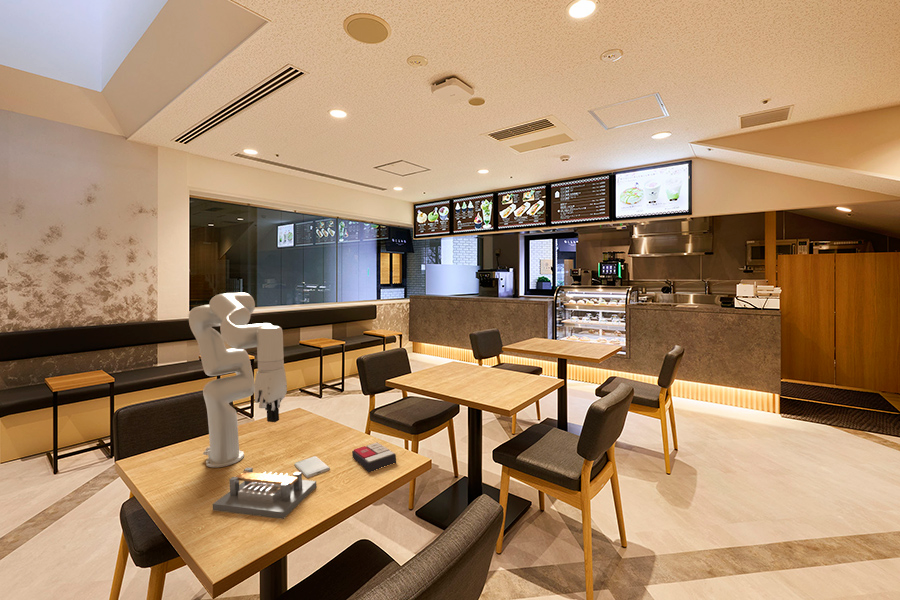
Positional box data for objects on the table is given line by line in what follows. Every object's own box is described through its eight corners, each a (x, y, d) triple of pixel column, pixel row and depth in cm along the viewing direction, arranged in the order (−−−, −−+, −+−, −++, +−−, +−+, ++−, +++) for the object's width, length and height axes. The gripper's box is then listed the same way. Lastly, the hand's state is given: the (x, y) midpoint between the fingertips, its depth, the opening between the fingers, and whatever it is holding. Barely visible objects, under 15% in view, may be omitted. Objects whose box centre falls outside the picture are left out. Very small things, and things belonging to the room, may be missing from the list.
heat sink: (227, 497, 117) (226, 481, 117) (250, 480, 127) (249, 465, 127) (284, 504, 113) (283, 487, 113) (304, 486, 123) (303, 470, 122)
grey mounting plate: (212, 510, 115) (212, 503, 114) (253, 480, 131) (253, 475, 131) (283, 519, 109) (283, 512, 109) (316, 487, 126) (316, 481, 126)
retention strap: (235, 481, 120) (234, 476, 120) (243, 475, 124) (243, 470, 124) (290, 486, 116) (290, 481, 116) (298, 480, 119) (297, 475, 119)
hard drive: (294, 462, 141) (307, 475, 132) (316, 455, 147) (329, 466, 137) (294, 467, 141) (307, 479, 132) (316, 459, 147) (330, 471, 137)
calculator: (377, 440, 153) (396, 452, 141) (378, 451, 153) (396, 463, 141) (351, 448, 146) (368, 461, 134) (352, 460, 146) (369, 473, 134)
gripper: (276, 359, 130) (278, 411, 131) (243, 370, 115) (245, 429, 117) (295, 360, 128) (297, 413, 130) (264, 371, 114) (267, 431, 115)
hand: (273, 421), depth 123 cm, fingers closed
